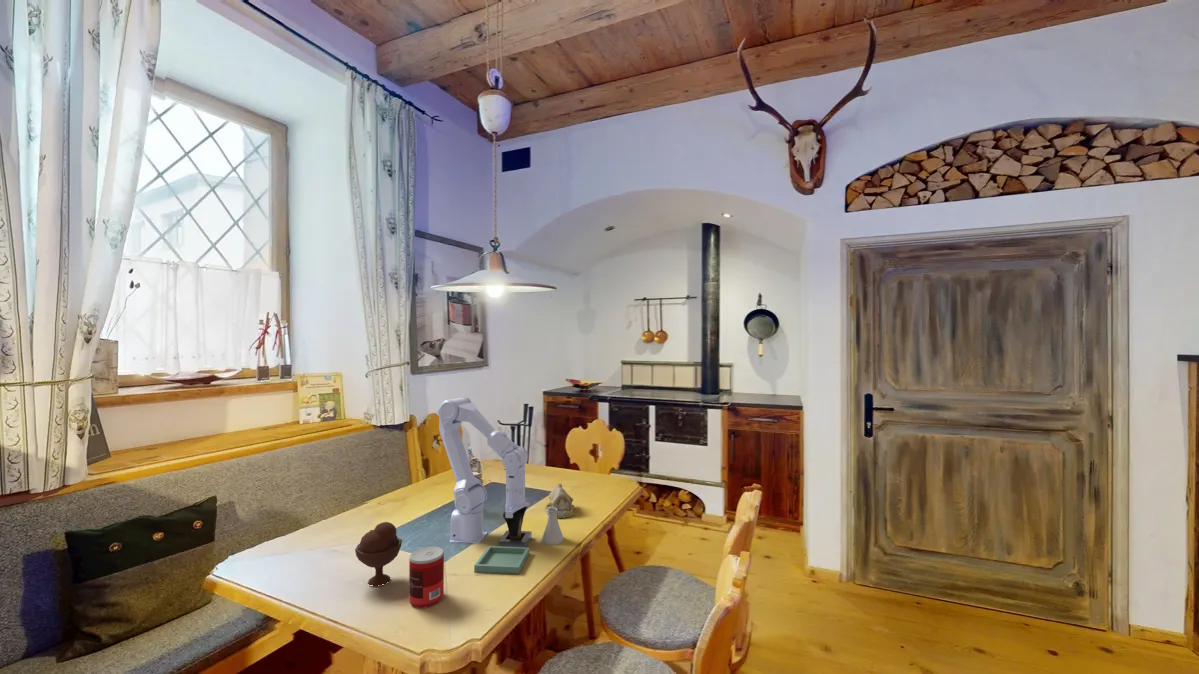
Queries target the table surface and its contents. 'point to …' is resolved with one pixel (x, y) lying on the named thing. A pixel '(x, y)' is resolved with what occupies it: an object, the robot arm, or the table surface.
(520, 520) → the pin
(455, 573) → the table surface
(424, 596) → the canned food
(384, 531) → the ice cream bowl
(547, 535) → the flask
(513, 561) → the tray
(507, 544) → the square metal dish
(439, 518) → the table surface
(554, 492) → the ceramic model
